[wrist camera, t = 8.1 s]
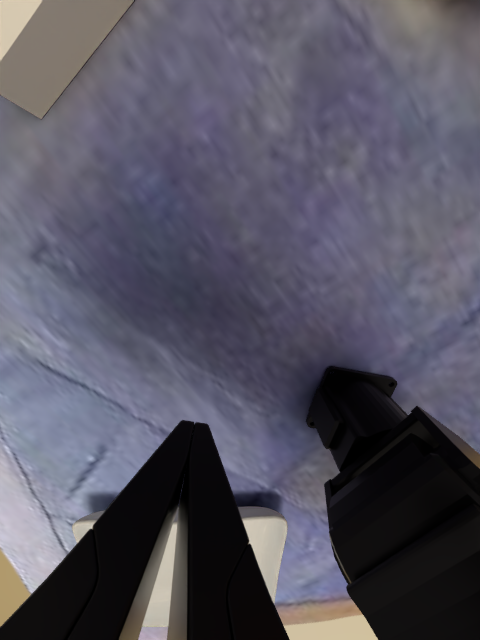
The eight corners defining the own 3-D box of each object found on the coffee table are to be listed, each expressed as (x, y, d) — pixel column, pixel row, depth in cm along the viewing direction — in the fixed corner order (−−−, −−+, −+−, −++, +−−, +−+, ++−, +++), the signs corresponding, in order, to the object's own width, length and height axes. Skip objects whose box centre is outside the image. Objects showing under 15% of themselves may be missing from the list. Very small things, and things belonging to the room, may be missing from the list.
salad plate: (268, 589, 34) (272, 627, 31) (116, 593, 33) (103, 632, 30) (283, 485, 26) (290, 520, 23) (87, 487, 26) (67, 523, 22)
